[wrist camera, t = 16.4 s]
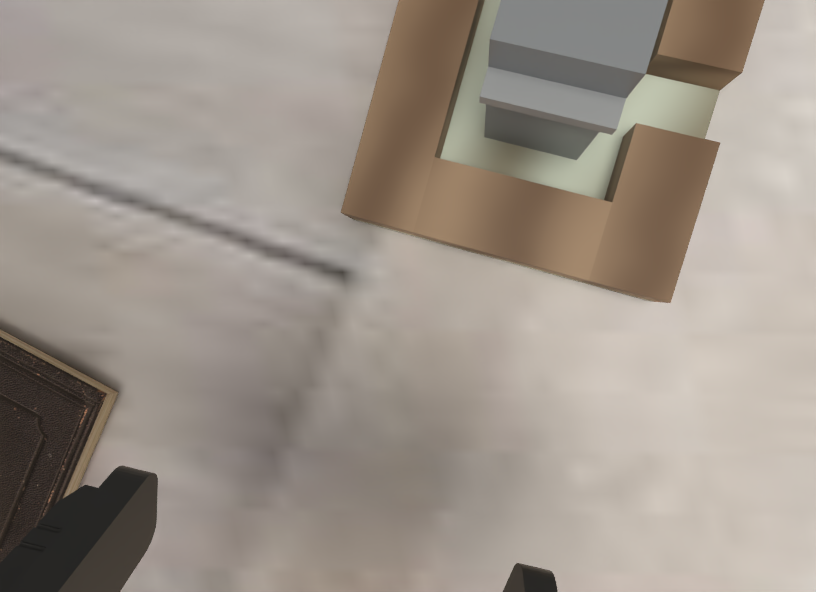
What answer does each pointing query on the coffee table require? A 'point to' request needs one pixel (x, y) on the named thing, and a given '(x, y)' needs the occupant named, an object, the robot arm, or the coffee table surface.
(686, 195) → the walnut plate
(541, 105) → the block
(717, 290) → the coffee table surface
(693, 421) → the coffee table surface
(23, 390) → the hardcover book
